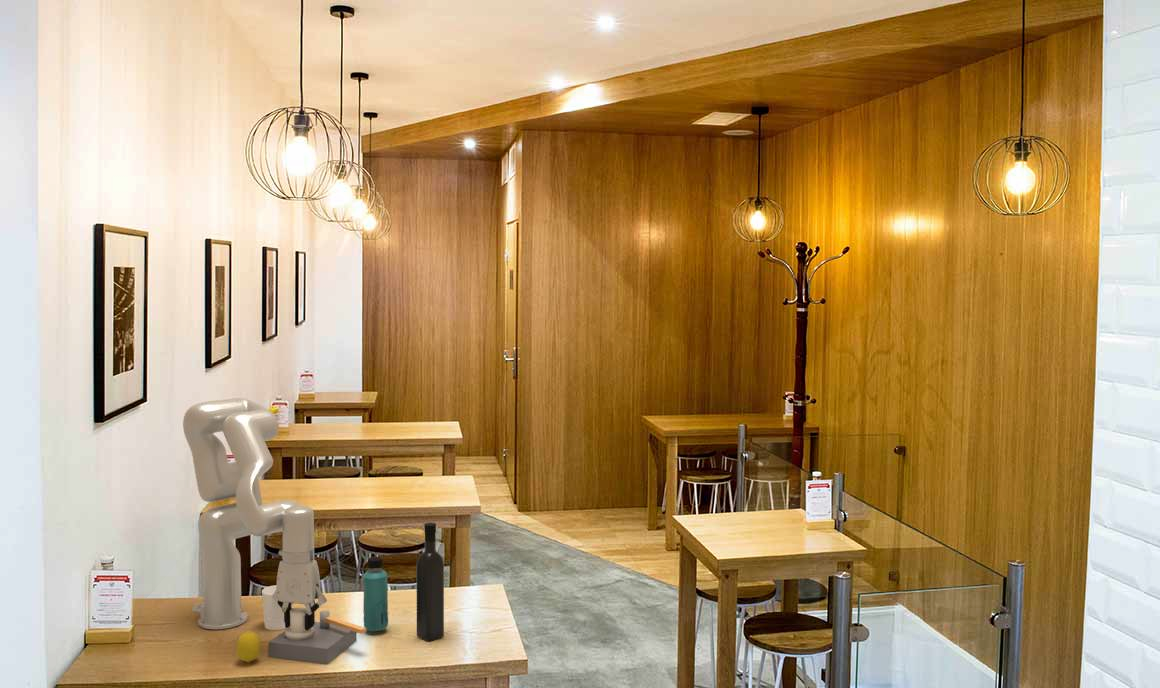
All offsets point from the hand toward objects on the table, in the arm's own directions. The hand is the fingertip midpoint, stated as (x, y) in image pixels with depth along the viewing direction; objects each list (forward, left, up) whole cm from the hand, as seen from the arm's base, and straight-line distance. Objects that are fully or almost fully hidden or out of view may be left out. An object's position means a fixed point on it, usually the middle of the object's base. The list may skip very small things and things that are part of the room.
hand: (299, 626), depth 236 cm
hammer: (+10, +4, -2) cm, 11 cm away
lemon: (-8, -10, -6) cm, 14 cm away
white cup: (-14, +13, -6) cm, 20 cm away
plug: (0, 0, -6) cm, 6 cm away
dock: (+3, +2, -6) cm, 7 cm away
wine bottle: (+28, +17, -6) cm, 33 cm away
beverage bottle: (+13, +16, -6) cm, 22 cm away
